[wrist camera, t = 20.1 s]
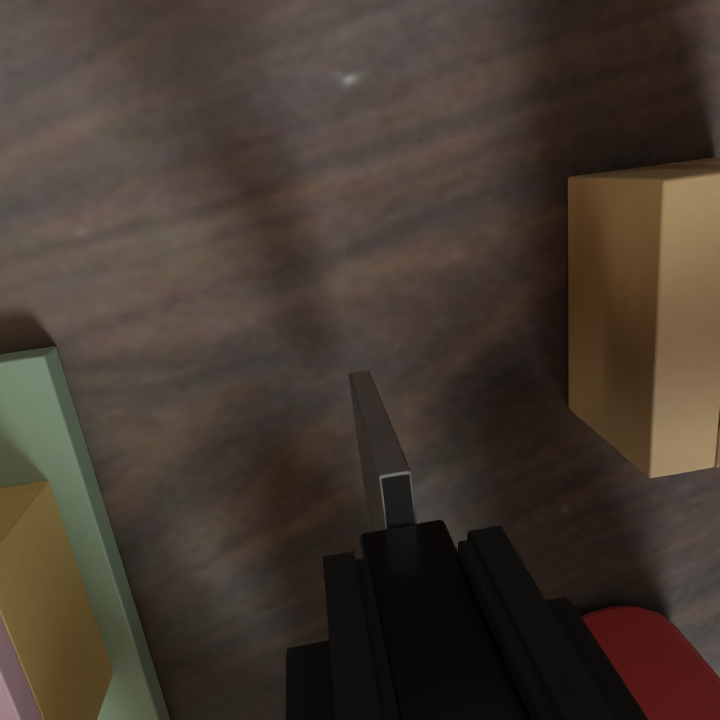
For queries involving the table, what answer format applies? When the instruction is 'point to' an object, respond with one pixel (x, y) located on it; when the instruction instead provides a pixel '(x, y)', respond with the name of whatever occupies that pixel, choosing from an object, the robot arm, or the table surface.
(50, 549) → the cake
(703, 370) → the stand
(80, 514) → the cake board
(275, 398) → the table surface
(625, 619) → the beer can
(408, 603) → the knife
